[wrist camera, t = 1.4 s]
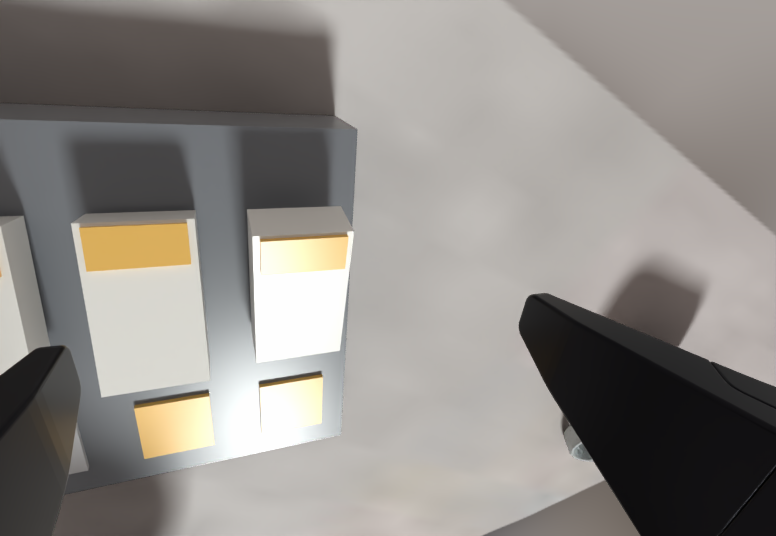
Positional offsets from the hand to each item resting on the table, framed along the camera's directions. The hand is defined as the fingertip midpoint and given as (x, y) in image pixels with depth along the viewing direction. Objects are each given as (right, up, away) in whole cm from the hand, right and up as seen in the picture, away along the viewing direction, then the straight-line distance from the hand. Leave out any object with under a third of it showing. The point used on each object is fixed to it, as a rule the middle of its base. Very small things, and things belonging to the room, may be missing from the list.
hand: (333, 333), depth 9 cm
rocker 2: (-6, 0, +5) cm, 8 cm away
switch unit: (-8, 0, +9) cm, 12 cm away
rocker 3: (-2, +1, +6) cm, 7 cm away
